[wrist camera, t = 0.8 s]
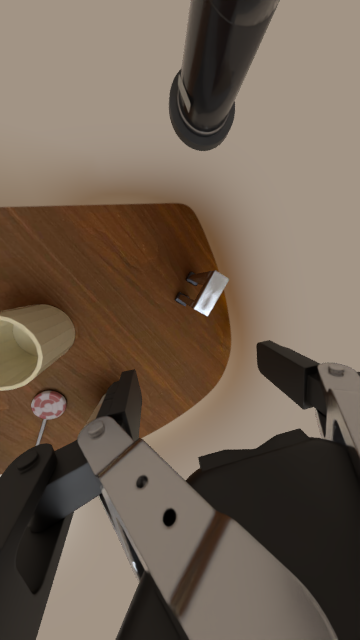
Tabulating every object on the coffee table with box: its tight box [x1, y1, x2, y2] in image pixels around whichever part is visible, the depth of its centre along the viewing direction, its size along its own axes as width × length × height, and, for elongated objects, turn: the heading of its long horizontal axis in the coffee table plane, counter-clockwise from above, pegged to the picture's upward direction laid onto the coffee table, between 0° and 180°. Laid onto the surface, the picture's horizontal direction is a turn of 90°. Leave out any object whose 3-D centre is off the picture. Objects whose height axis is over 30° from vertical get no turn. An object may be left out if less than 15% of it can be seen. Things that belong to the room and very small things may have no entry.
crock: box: [0, 304, 75, 391], centre depth 29 cm, size 11×11×11 cm
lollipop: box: [31, 391, 66, 446], centre depth 38 cm, size 7×1×15 cm
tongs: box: [175, 270, 229, 316], centre depth 29 cm, size 7×2×16 cm, turn 151°
